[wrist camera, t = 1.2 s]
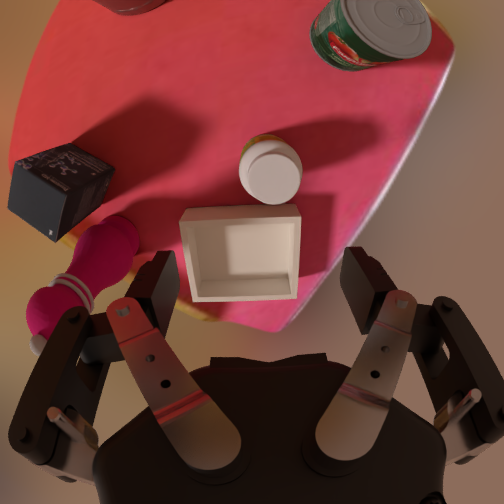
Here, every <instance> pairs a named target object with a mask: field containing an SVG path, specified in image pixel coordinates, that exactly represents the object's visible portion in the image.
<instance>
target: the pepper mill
mask: <svg viewBox="0 0 504 504" xmlns="http://www.w3.org/2000/svg"><path fill="white" fill-rule="evenodd" d="M139 244H140V241H139V235H138V232H137V230H136V228H135V227H134V225H133V224H132V223H131V222H130V221H128V220H127V219H125V218H123V217H120V216H109V217H106V218H105V219H103V220H102V221H101V222H100V223H99V224H98V225H94V226H91V227H90V228H88V229H87V230H86V231H85V232H84V233H83V234H82V235H81V237H80V238H79V240H78V242H77V244H76V247H75V250H74V255H73V259H72V262H71V264H70V266H69V268H68V269H67V271H66V272H65V273H61V274H58V275H56V276H55V277H54V279H53V280H52V281H51V282H50V283H49V285H48V287H43V288H41V289H39V290H37V291H36V292H35V293H34V294H33V296H32V297H31V298H30V300H29V303H28V305H27V310H26V320H27V324H28V327H29V329H30V331H31V333H32V334H33V337H32V338H31V340H30V348H31V350H32V352H33V353H34V354H35V355H38V356H40V354H41V353H42V351H43V349H44V347H45V345H46V343H47V341H48V339H49V337H50V335H51V334H52V332H53V330H54V328H55V326H56V325H57V323H58V321H59V319H60V318H61V316H62V314H63V313H64V312H65V311H67V310H68V309H70V308H72V307H75V306H84V307H86V308H87V309H88V311H89V314H90V313H91V312H92V311H93V309H94V299H95V297H96V296H97V295H98V294H99V293H100V292H101V291H102V290H103V289H105V288H107V287H110V286H112V285H114V284H116V283H118V282H119V281H120V280H122V279H123V278H124V277H125V276H126V274H127V273H128V272H129V270H130V268H131V266H132V262H133V257H134V255H135V254H136V252H137V250H138V248H139Z"/></svg>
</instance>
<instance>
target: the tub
mask: <svg viewBox="0 0 504 504" xmlns="http://www.w3.org/2000/svg"><path fill="white" fill-rule="evenodd" d="M179 226H180V233H181V239H182V245H183V251H184V256H185V262H186V268H187V273H188V278H189V284H190V289H191V294H192V299H193V302H221V301H256V300H279V299H297V288H298V273H299V256H300V237H301V215H300V213H299V210H298V208H297V206H296V204H275V205H273V204H258V205H234V206H214V207H197V208H186V210H185V212H184V214H183V215H182V217H181V219H180V221H179Z"/></svg>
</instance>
